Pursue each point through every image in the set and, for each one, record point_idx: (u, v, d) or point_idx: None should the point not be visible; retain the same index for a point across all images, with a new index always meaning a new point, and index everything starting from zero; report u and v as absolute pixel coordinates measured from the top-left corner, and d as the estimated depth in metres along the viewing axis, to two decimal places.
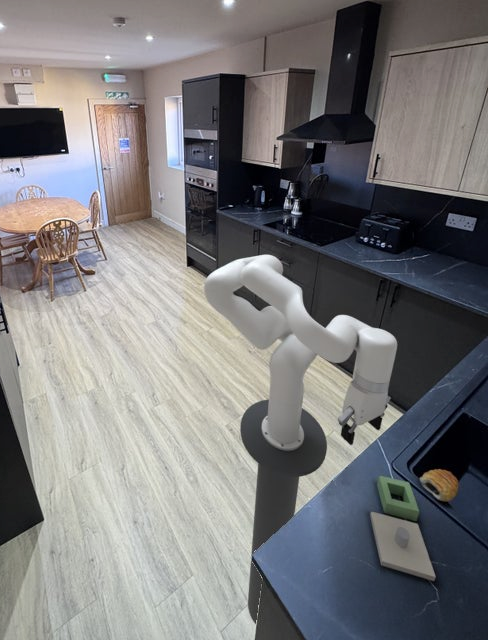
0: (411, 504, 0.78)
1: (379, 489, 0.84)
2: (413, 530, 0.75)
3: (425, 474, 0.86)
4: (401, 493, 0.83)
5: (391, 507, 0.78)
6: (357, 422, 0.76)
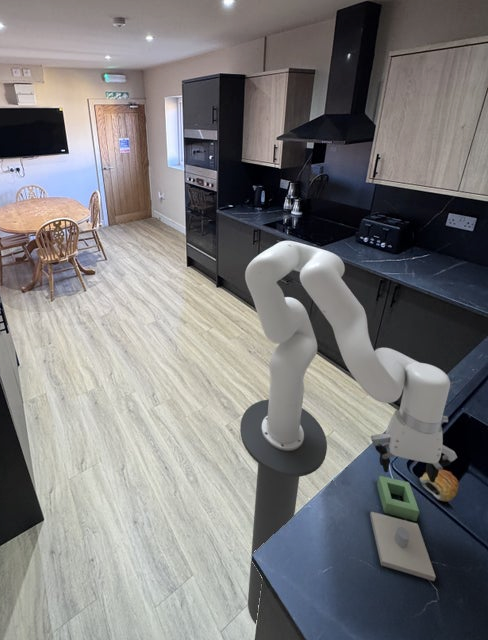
0: (411, 504, 0.78)
1: (379, 489, 0.84)
2: (413, 530, 0.75)
3: (425, 474, 0.86)
4: (401, 493, 0.83)
5: (391, 507, 0.78)
6: (391, 450, 0.75)
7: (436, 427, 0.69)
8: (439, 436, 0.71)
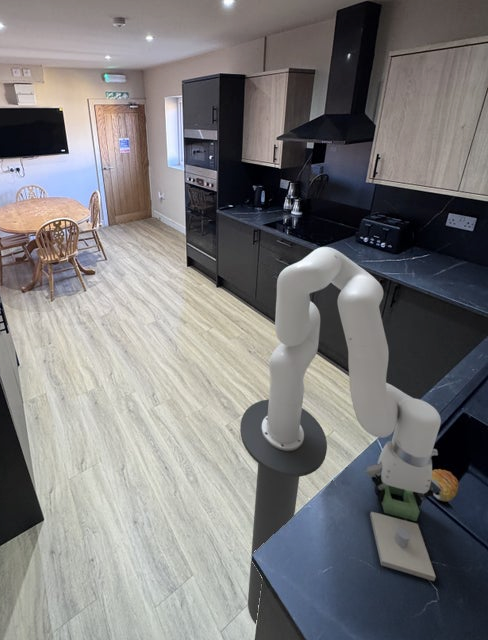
0: (411, 504, 0.78)
1: None
2: (413, 530, 0.75)
3: None
4: (401, 493, 0.83)
5: (391, 507, 0.78)
6: (382, 479, 0.79)
7: (426, 461, 0.72)
8: (429, 469, 0.74)
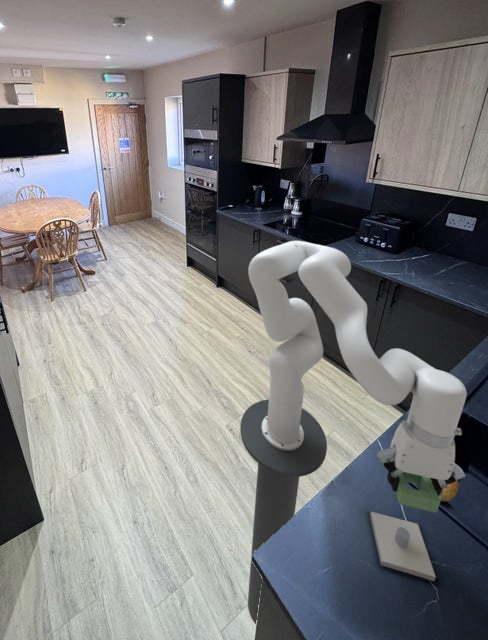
0: (430, 493, 0.67)
1: None
2: (413, 530, 0.75)
3: None
4: (417, 481, 0.72)
5: (407, 497, 0.68)
6: (397, 465, 0.68)
7: (449, 441, 0.62)
8: (451, 450, 0.63)
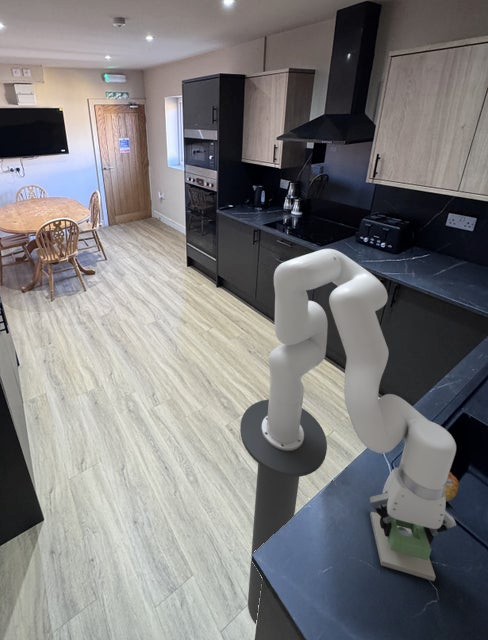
0: (422, 541, 0.68)
1: None
2: None
3: None
4: (410, 526, 0.73)
5: (399, 544, 0.69)
6: (388, 512, 0.69)
7: (439, 493, 0.63)
8: (442, 502, 0.64)
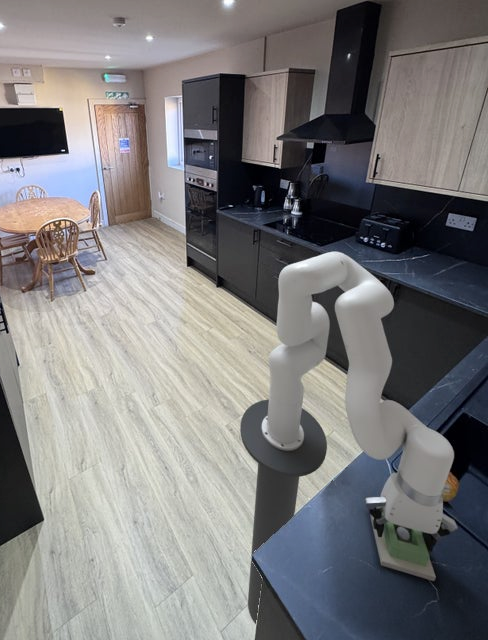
0: (420, 547, 0.69)
1: None
2: None
3: None
4: None
5: (397, 550, 0.69)
6: (386, 516, 0.69)
7: (436, 499, 0.63)
8: (439, 507, 0.65)
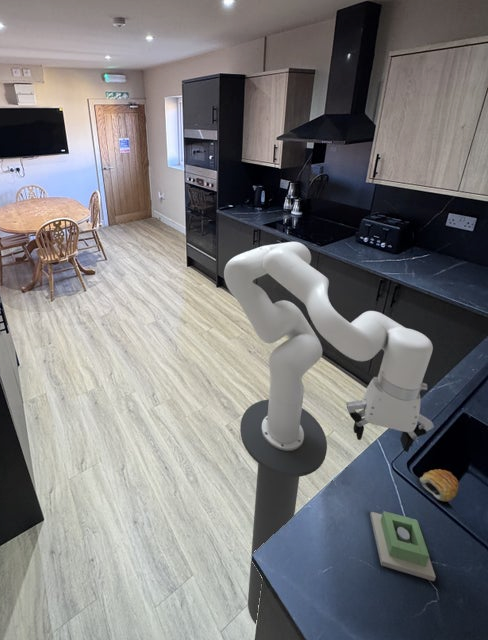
0: (420, 547, 0.69)
1: (383, 526, 0.74)
2: None
3: (425, 474, 0.86)
4: (408, 532, 0.74)
5: (397, 550, 0.69)
6: (366, 417, 0.72)
7: (414, 394, 0.66)
8: (417, 404, 0.67)
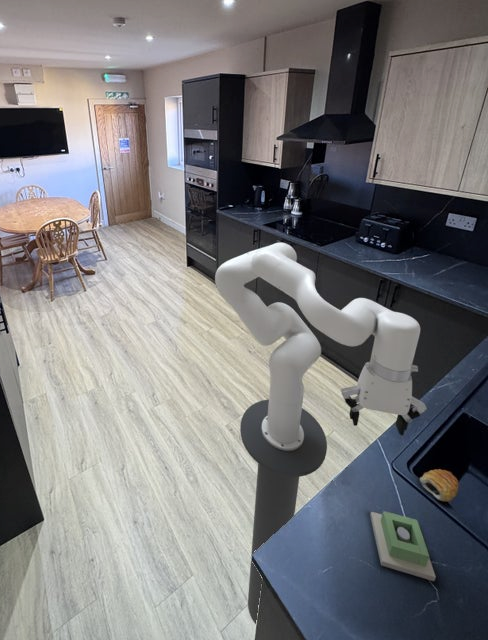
0: (420, 547, 0.69)
1: (383, 526, 0.74)
2: None
3: (425, 474, 0.86)
4: (408, 532, 0.74)
5: (397, 551, 0.69)
6: (360, 402, 0.74)
7: (405, 375, 0.67)
8: (408, 386, 0.69)
